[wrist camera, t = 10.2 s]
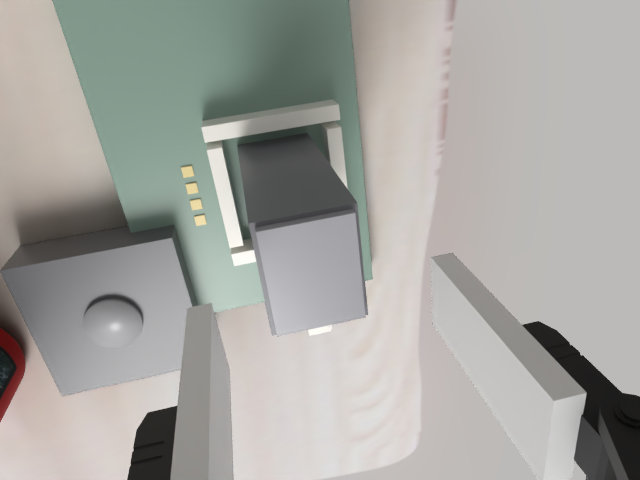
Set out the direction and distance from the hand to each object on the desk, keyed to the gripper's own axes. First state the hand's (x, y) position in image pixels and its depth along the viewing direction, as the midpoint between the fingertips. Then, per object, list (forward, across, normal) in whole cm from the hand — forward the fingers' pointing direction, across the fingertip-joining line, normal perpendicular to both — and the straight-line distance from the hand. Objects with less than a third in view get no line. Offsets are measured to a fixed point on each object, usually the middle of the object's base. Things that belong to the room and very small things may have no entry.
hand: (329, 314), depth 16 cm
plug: (+14, 0, 0) cm, 14 cm away
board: (+15, -2, +2) cm, 15 cm away
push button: (+15, -11, -6) cm, 20 cm away
